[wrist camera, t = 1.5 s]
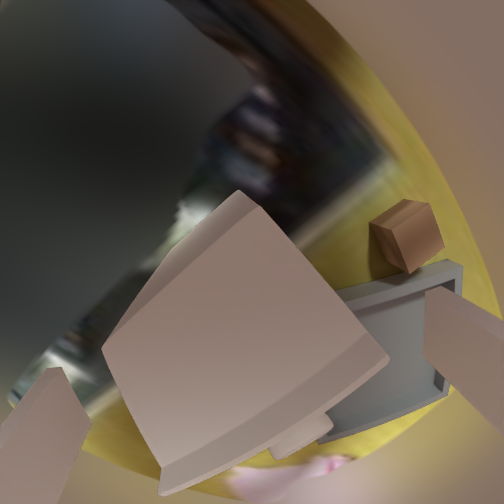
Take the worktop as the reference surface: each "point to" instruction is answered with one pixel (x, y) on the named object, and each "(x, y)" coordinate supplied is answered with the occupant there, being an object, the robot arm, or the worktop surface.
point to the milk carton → (235, 348)
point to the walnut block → (408, 234)
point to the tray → (394, 348)
